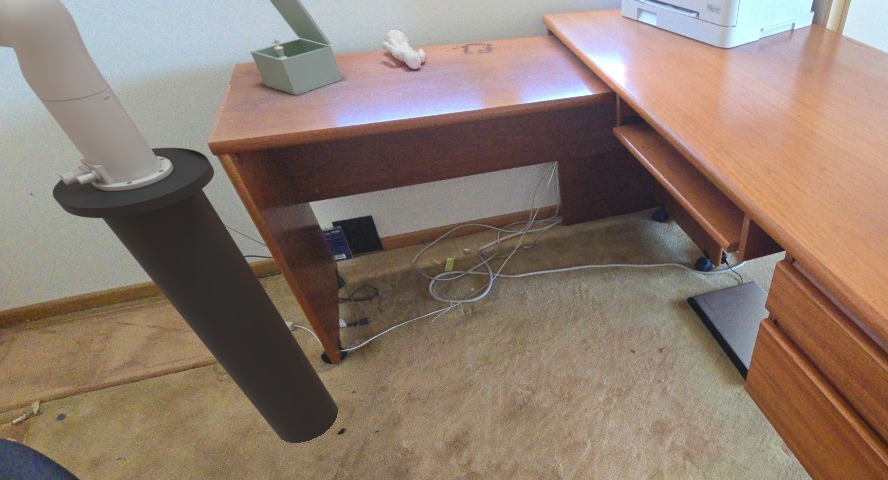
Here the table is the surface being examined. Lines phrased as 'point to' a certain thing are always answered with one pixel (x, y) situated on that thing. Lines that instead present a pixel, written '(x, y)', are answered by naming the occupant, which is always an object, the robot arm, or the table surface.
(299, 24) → the lid
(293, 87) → the gray-green box
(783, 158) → the table surface
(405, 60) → the figure
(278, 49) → the chess piece
